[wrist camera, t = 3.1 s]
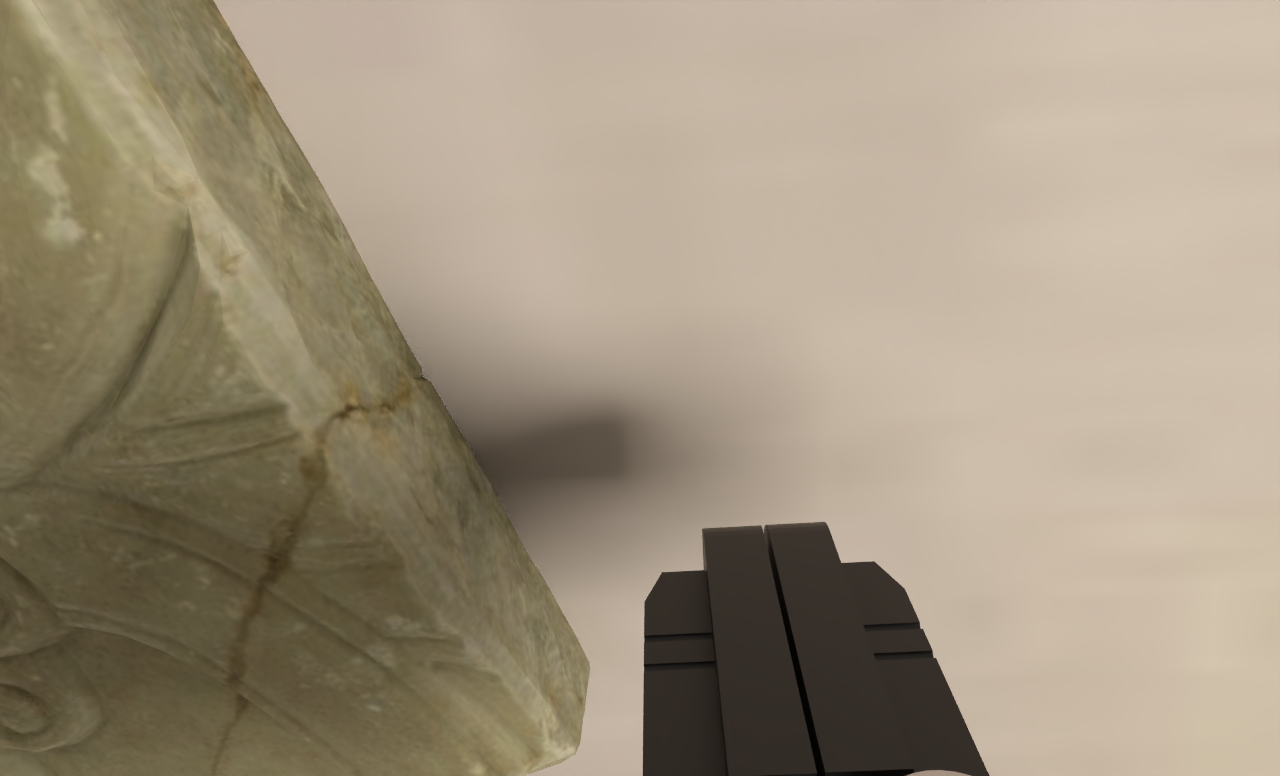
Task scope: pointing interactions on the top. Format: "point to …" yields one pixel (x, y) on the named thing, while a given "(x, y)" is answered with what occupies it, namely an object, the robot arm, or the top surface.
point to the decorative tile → (230, 449)
